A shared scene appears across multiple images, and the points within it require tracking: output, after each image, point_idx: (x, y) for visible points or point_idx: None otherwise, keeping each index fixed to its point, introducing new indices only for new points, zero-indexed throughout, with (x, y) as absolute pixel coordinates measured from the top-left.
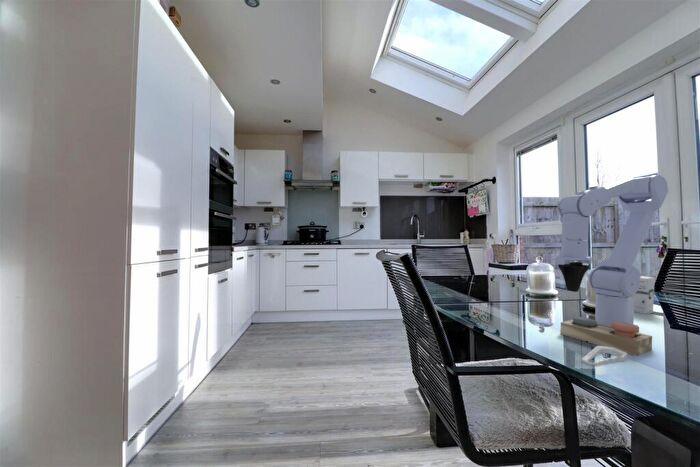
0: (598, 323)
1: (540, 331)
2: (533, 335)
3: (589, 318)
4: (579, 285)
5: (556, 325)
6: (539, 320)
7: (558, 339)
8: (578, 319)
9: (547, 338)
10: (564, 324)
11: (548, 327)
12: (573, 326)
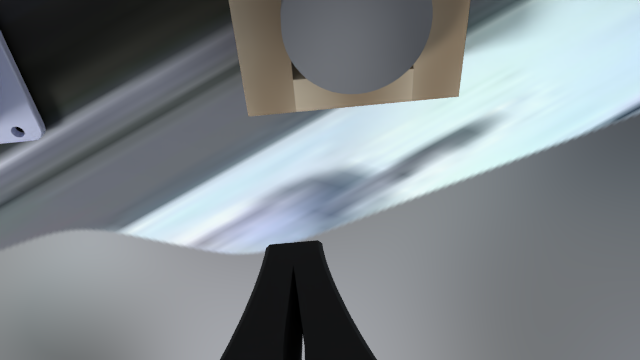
0: (2, 94)
1: (479, 131)
2: (584, 101)
3: (283, 30)
4: (276, 285)
5: (283, 168)
6: None
7: (548, 10)
8: (400, 42)
9: (579, 44)
10: (460, 70)
11: (365, 160)
12: (467, 16)
